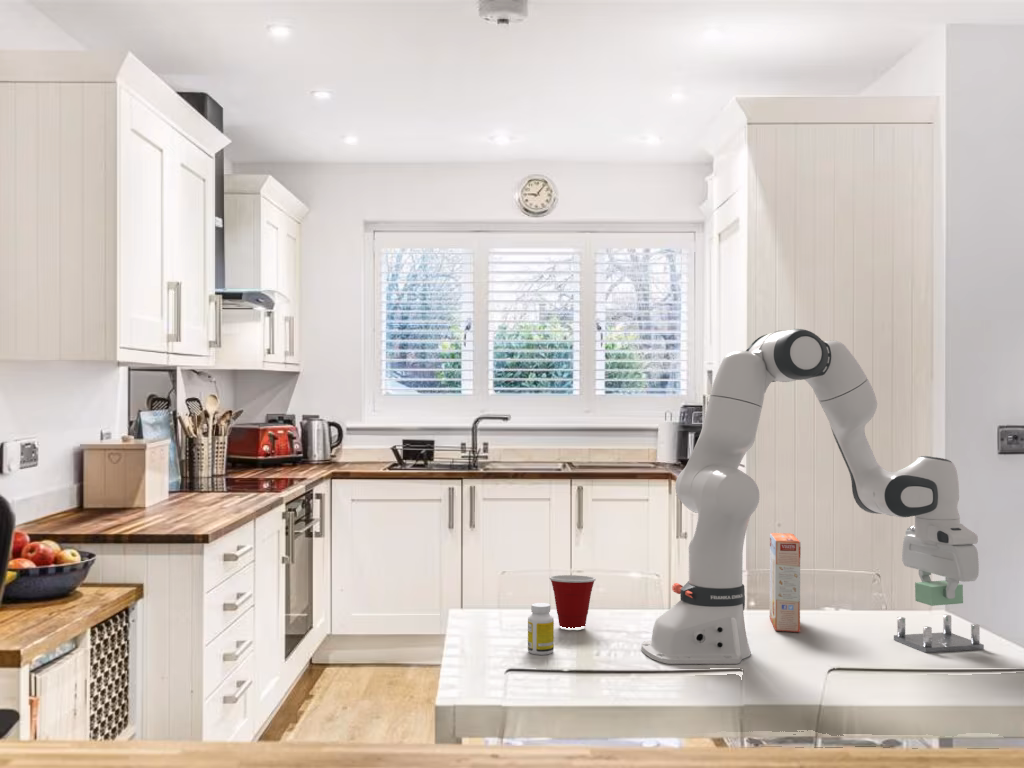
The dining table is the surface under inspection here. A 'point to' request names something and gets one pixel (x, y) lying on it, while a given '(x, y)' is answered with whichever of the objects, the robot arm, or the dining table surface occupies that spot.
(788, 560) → the cracker box
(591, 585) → the plastic cup
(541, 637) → the supplement bottle
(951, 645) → the chassis
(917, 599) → the green rectangular block
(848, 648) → the dining table surface
